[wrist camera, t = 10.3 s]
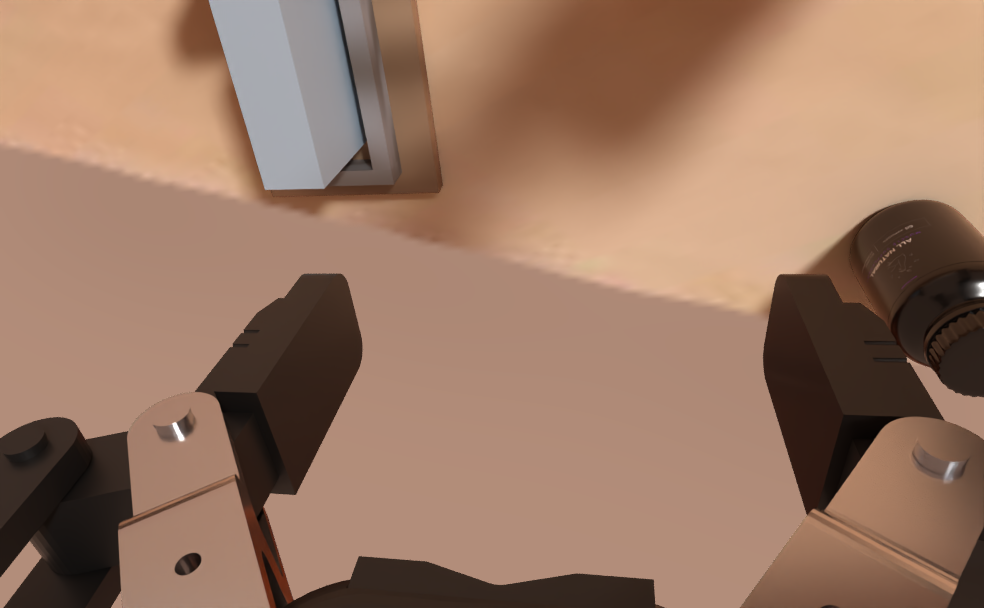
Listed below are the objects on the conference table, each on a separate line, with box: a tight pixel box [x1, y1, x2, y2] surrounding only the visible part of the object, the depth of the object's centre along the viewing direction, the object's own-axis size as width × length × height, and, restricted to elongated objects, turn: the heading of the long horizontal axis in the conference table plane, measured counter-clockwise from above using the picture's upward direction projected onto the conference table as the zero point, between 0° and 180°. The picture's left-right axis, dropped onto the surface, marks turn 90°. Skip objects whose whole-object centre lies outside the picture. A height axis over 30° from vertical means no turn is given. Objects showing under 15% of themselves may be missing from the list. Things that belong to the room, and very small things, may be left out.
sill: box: [271, 0, 443, 197], centre depth 36 cm, size 18×12×9 cm, turn 5°
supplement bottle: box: [850, 200, 984, 397], centre depth 37 cm, size 7×7×12 cm
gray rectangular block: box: [208, 0, 367, 190], centre depth 36 cm, size 10×4×8 cm, turn 5°
